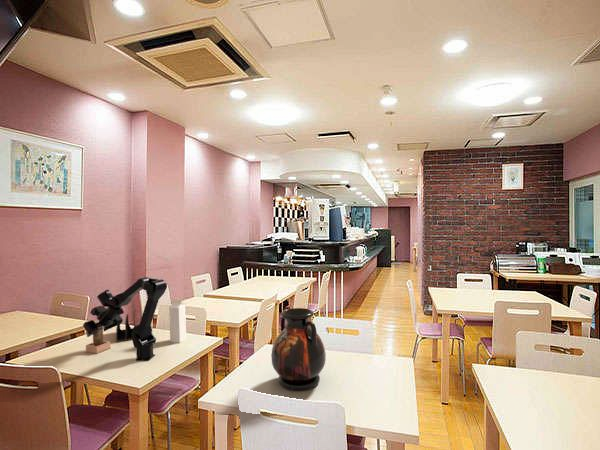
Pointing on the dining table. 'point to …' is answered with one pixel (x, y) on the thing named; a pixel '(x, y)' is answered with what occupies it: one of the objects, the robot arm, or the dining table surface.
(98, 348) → the pink open box
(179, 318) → the milk
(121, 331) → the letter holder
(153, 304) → the robot arm
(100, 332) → the brown tall cylinder
